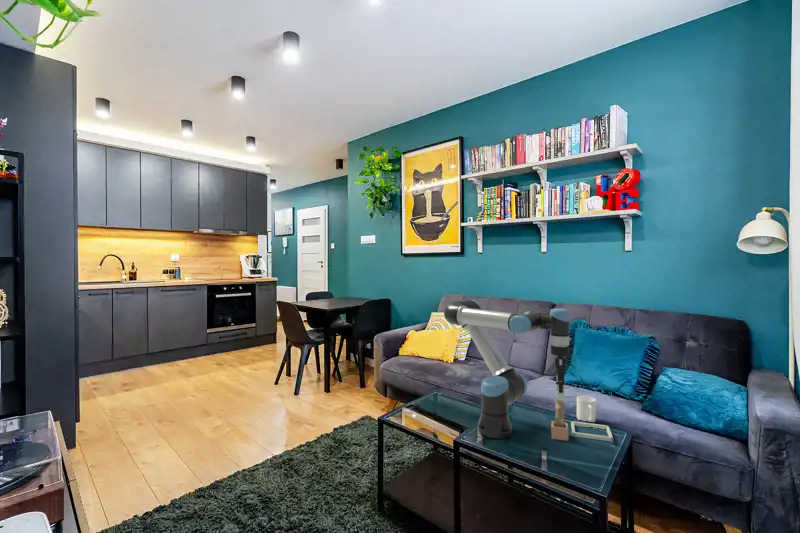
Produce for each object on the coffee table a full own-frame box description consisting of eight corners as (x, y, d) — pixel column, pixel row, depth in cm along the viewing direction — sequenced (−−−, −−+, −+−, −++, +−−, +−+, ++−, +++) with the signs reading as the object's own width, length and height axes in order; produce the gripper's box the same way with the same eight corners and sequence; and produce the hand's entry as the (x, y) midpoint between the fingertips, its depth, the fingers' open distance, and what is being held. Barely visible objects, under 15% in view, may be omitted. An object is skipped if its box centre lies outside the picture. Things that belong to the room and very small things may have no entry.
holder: (551, 440, 169) (551, 426, 168) (551, 434, 175) (551, 420, 175) (568, 443, 166) (568, 429, 166) (567, 436, 172) (567, 423, 172)
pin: (555, 437, 170) (555, 400, 169) (555, 434, 173) (555, 397, 172) (563, 438, 168) (563, 401, 168) (563, 435, 171) (563, 398, 171)
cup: (592, 416, 195) (592, 396, 195) (601, 426, 183) (601, 404, 183) (574, 416, 196) (574, 395, 196) (582, 425, 184) (582, 404, 184)
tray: (572, 438, 171) (572, 432, 171) (571, 426, 183) (571, 421, 183) (613, 444, 165) (613, 438, 165) (608, 431, 178) (608, 425, 178)
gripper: (571, 351, 157) (571, 405, 157) (568, 340, 180) (568, 387, 180) (550, 350, 160) (551, 403, 160) (550, 339, 183) (550, 385, 183)
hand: (560, 395), depth 170 cm, fingers open, 13 cm apart
